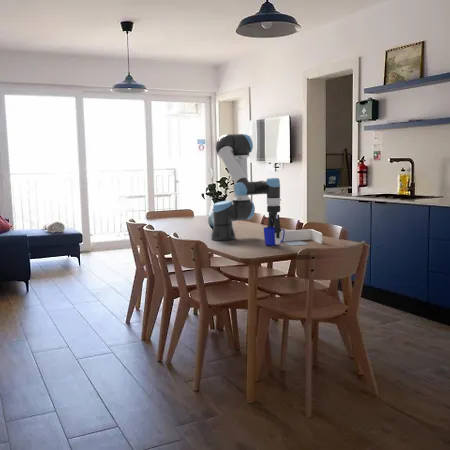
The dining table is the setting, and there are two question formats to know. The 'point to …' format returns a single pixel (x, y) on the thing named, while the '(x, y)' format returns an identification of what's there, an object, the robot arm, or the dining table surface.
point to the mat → (295, 243)
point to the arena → (301, 235)
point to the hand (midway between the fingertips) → (274, 242)
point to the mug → (271, 235)
